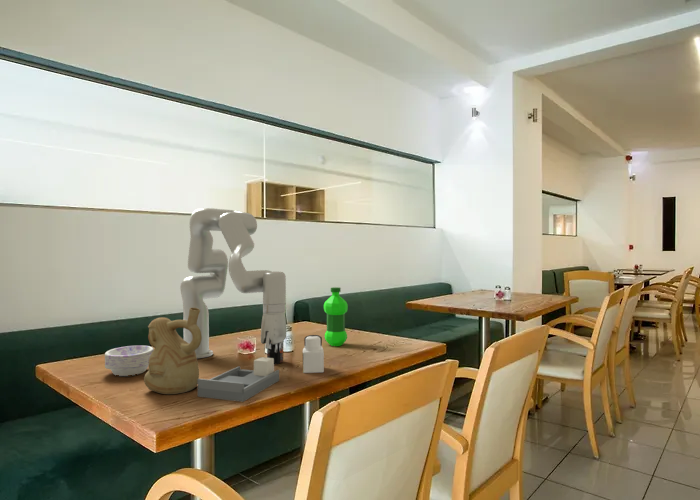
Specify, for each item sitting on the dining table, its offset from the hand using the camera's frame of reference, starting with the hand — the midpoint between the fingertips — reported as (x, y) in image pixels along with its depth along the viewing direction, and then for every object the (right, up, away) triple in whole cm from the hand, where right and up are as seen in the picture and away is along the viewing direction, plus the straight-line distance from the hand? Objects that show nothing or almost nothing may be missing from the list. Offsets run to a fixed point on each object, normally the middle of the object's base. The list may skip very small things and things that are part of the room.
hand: (274, 363), depth 154 cm
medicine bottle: (+12, -4, +6) cm, 14 cm away
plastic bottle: (+19, -4, +47) cm, 51 cm away
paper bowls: (-51, -5, +5) cm, 51 cm away
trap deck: (-8, -4, -14) cm, 16 cm away
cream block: (-2, -2, -7) cm, 7 cm away
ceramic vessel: (-28, -5, -14) cm, 32 cm away
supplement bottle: (-3, -4, +18) cm, 19 cm away
